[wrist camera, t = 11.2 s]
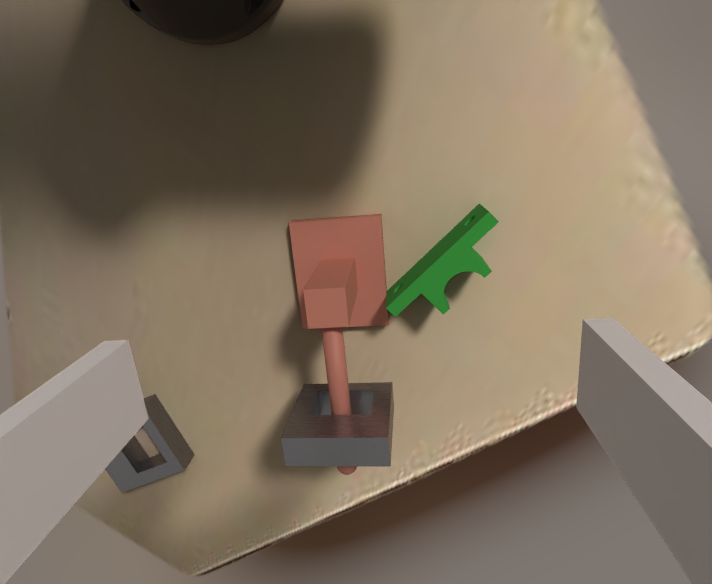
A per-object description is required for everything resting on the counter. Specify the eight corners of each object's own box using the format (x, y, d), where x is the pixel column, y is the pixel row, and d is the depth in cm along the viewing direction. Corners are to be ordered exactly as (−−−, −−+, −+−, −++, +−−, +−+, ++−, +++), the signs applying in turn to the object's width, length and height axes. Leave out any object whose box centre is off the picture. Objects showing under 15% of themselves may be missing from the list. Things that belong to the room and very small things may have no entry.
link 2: (303, 384, 42) (280, 438, 35) (392, 382, 41) (388, 437, 34) (307, 408, 43) (285, 466, 36) (394, 407, 42) (390, 466, 35)
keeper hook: (291, 220, 41) (261, 243, 32) (381, 214, 41) (376, 236, 32) (316, 419, 48) (298, 484, 39) (395, 417, 47) (394, 483, 38)
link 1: (94, 418, 50) (79, 432, 48) (155, 394, 48) (142, 407, 46) (134, 476, 52) (121, 492, 50) (194, 454, 50) (184, 470, 48)
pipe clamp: (415, 317, 44) (416, 338, 39) (386, 290, 43) (385, 308, 39) (508, 233, 40) (521, 245, 36) (479, 202, 40) (489, 211, 35)
